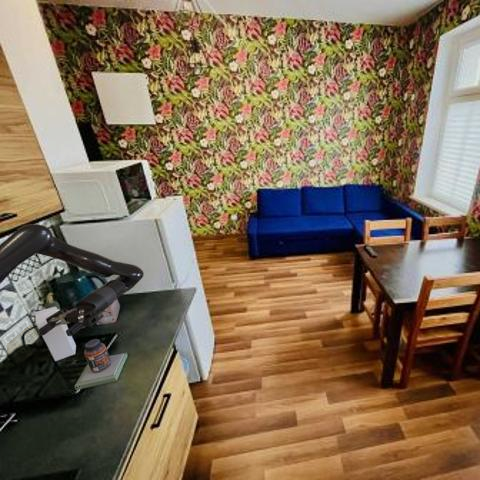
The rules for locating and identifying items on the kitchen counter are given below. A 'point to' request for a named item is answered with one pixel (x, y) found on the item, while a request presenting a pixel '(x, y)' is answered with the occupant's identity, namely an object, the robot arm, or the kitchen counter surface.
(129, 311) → the kitchen counter surface
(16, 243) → the robot arm
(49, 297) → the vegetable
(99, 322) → the food item
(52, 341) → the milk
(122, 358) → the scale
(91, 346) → the supplement bottle
